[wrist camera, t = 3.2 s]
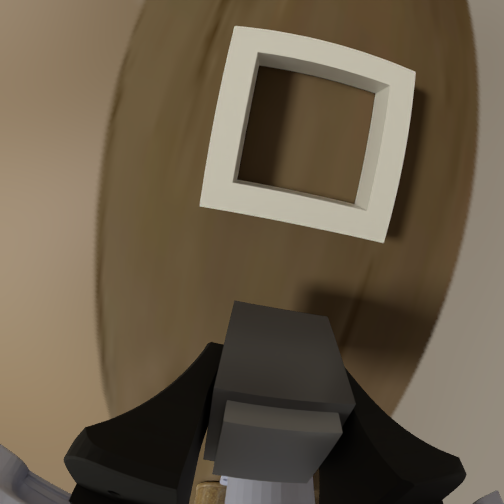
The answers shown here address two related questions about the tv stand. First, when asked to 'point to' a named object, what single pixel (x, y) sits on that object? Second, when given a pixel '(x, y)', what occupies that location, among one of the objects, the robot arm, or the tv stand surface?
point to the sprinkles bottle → (210, 493)
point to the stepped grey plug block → (276, 396)
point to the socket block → (328, 67)
